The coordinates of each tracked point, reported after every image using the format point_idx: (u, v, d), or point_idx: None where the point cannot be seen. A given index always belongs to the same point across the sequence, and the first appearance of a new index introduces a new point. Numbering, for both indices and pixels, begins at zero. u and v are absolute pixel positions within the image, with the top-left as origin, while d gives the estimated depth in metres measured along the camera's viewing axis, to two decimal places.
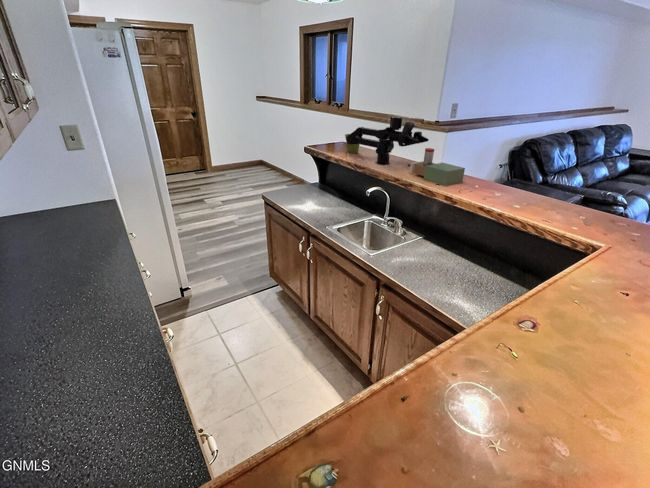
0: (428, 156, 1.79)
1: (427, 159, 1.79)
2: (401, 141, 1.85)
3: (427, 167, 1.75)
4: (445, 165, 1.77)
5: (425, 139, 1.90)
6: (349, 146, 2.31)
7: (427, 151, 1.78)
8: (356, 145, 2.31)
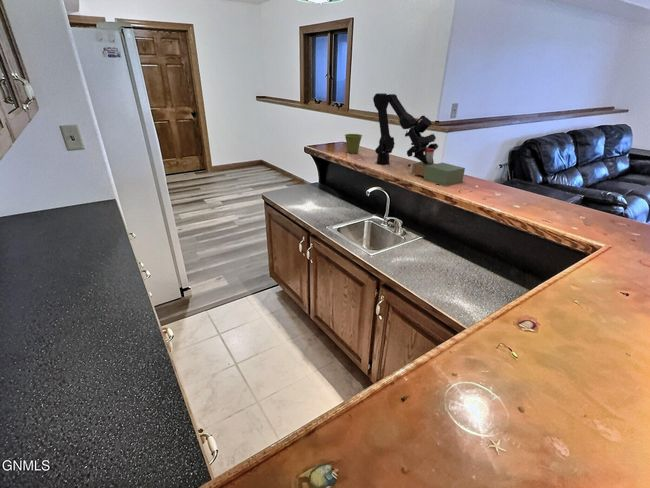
0: (428, 156, 1.79)
1: (428, 159, 1.79)
2: (410, 152, 1.78)
3: (427, 167, 1.75)
4: (445, 165, 1.77)
5: None
6: (349, 146, 2.31)
7: (427, 151, 1.78)
8: (356, 145, 2.31)
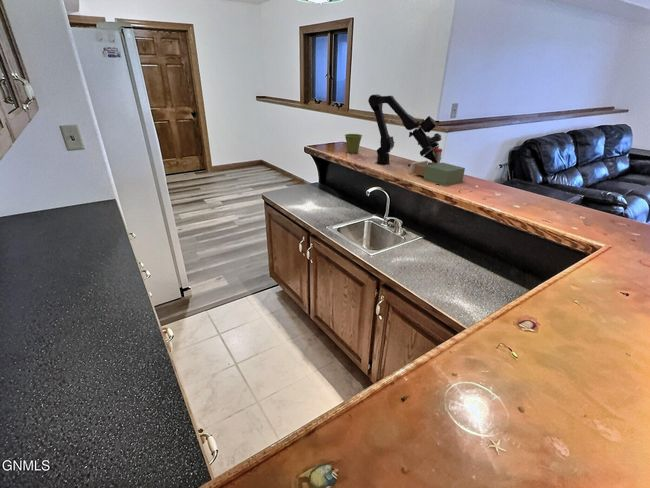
0: (438, 156, 1.90)
1: (437, 159, 1.91)
2: (424, 152, 1.86)
3: (427, 167, 1.75)
4: (445, 165, 1.77)
5: None
6: (349, 146, 2.31)
7: (437, 151, 1.89)
8: (356, 145, 2.31)
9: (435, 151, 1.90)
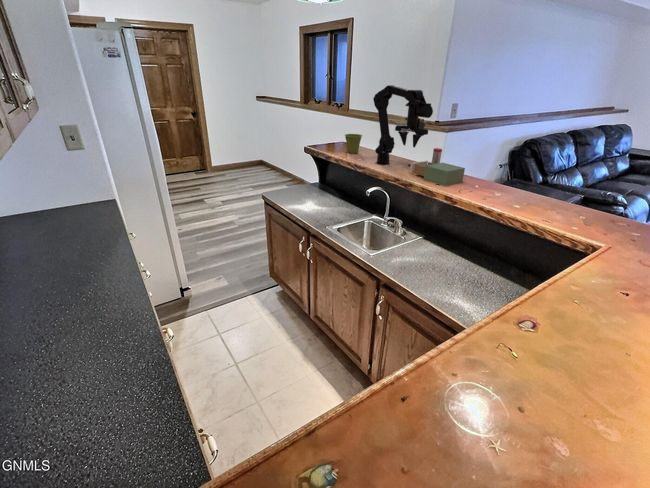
0: (438, 156, 1.90)
1: (437, 159, 1.91)
2: (424, 133, 1.79)
3: (427, 167, 1.75)
4: (445, 165, 1.77)
5: (405, 142, 1.92)
6: (349, 146, 2.31)
7: (437, 151, 1.89)
8: (356, 145, 2.31)
9: (435, 151, 1.90)
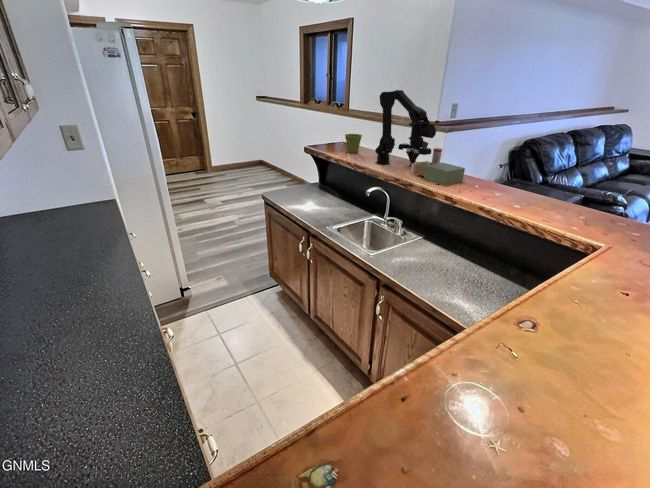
0: (438, 156, 1.90)
1: (437, 159, 1.91)
2: (427, 153, 1.80)
3: (427, 167, 1.75)
4: (445, 165, 1.77)
5: None
6: (349, 146, 2.31)
7: (437, 151, 1.89)
8: (356, 145, 2.31)
9: (435, 151, 1.90)
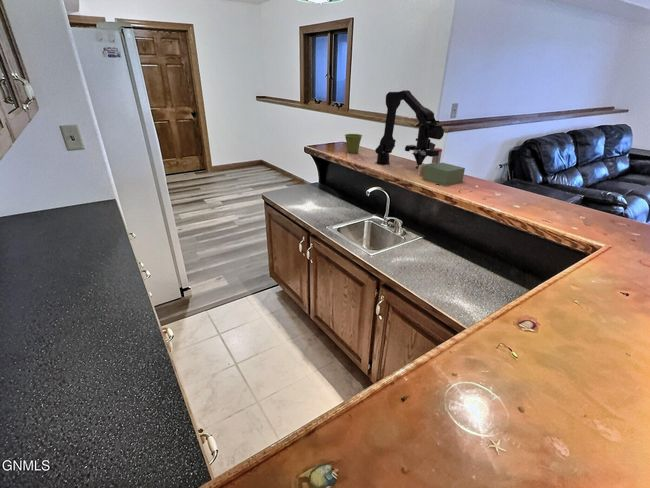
0: (438, 156, 1.90)
1: (437, 159, 1.91)
2: (434, 155, 1.77)
3: (427, 167, 1.75)
4: (445, 165, 1.77)
5: None
6: (349, 146, 2.31)
7: None
8: (356, 145, 2.31)
9: None
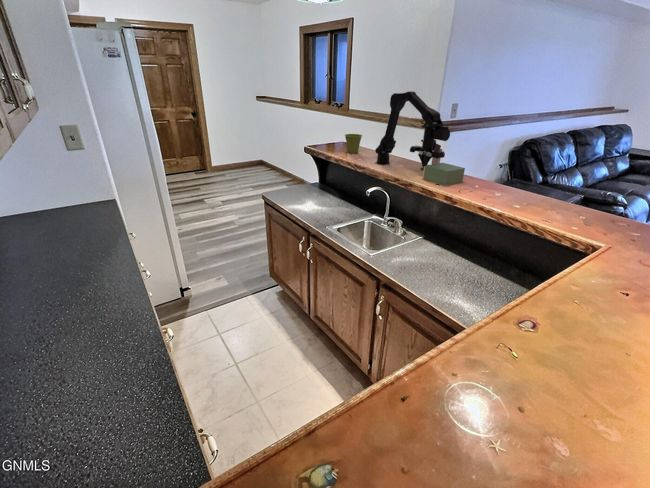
0: None
1: (437, 159, 1.91)
2: (440, 156, 1.74)
3: (427, 167, 1.75)
4: (445, 165, 1.77)
5: None
6: (349, 146, 2.31)
7: None
8: (356, 145, 2.31)
9: None
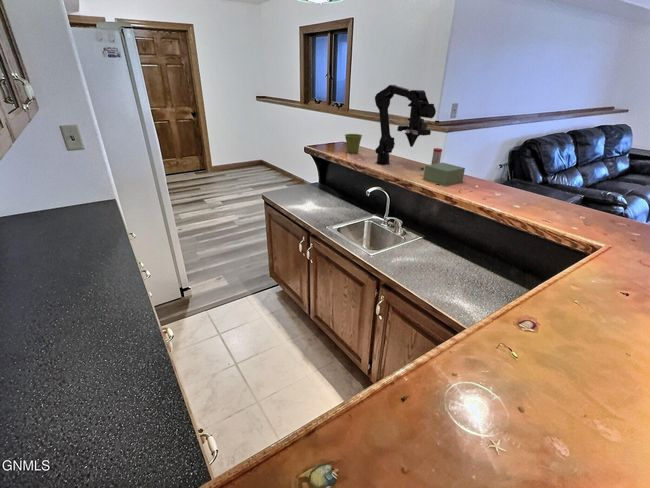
0: (438, 156, 1.90)
1: (437, 159, 1.91)
2: (426, 134, 1.79)
3: (427, 167, 1.75)
4: (445, 165, 1.77)
5: None
6: (349, 146, 2.31)
7: (437, 151, 1.89)
8: (356, 145, 2.31)
9: (435, 151, 1.90)
